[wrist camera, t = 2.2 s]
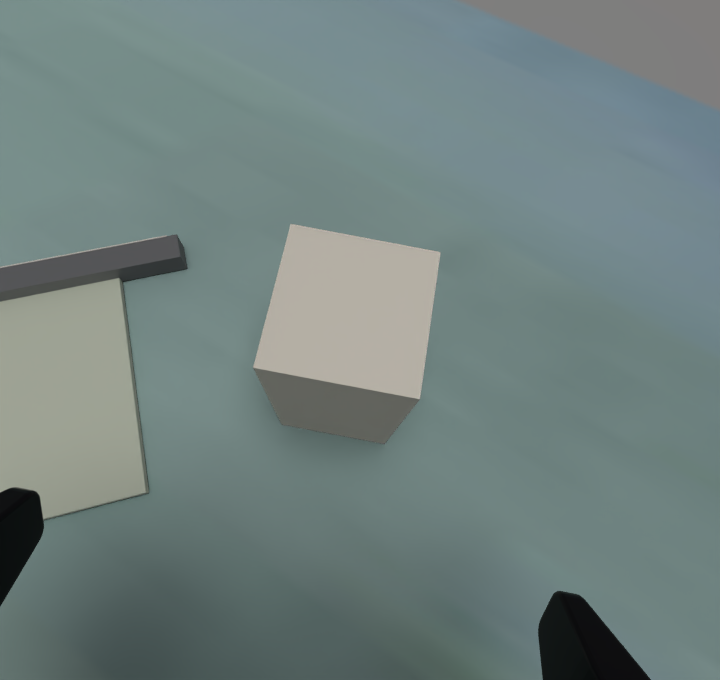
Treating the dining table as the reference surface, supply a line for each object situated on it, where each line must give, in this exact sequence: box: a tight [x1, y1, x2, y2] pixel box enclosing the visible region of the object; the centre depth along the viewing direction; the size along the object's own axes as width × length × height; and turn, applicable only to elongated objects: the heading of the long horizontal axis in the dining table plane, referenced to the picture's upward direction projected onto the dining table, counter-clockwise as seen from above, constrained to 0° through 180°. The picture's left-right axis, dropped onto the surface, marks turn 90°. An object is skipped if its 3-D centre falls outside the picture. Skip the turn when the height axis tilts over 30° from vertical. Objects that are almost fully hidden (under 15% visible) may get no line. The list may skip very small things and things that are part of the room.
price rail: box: [0, 234, 187, 302], centre depth 23 cm, size 16×1×1 cm, turn 105°
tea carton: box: [253, 224, 440, 444], centre depth 19 cm, size 5×5×9 cm
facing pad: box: [0, 278, 149, 520], centre depth 21 cm, size 10×10×1 cm
